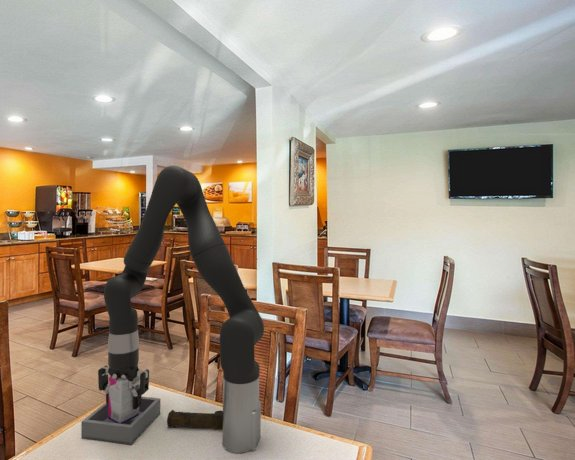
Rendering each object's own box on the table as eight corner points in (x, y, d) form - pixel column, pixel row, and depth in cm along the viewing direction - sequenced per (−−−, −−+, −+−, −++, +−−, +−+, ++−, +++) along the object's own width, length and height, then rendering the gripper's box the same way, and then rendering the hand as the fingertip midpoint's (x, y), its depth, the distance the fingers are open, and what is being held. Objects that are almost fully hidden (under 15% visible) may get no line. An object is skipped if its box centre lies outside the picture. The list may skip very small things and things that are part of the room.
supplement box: (140, 414, 95) (140, 374, 94) (120, 425, 90) (120, 382, 89) (127, 408, 98) (127, 369, 97) (107, 418, 93) (107, 377, 92)
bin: (160, 413, 100) (160, 398, 99) (131, 445, 86) (131, 427, 86) (116, 408, 102) (116, 393, 102) (81, 438, 88) (81, 421, 88)
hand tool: (165, 430, 93) (165, 413, 92) (171, 421, 97) (171, 405, 96) (233, 436, 91) (233, 419, 91) (237, 426, 95) (237, 410, 94)
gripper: (155, 344, 96) (155, 401, 96) (109, 340, 98) (109, 396, 98) (139, 354, 88) (139, 417, 89) (90, 350, 90) (90, 411, 91)
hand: (123, 406), depth 94 cm, fingers closed on supplement box, 7 cm apart
